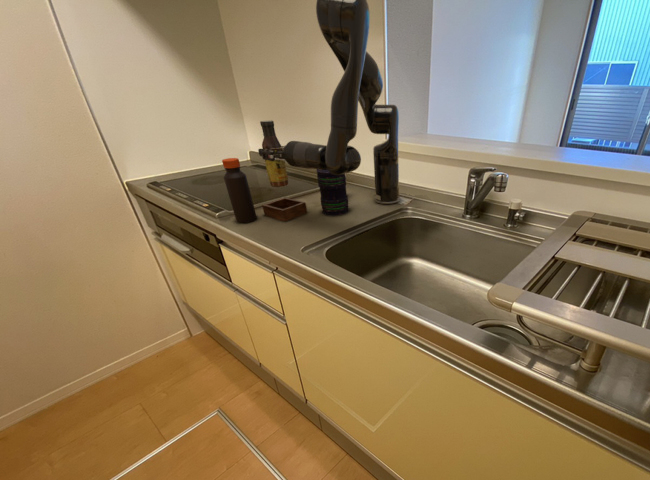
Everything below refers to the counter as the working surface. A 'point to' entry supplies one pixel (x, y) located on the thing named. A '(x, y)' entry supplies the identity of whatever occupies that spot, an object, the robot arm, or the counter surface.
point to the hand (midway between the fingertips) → (268, 150)
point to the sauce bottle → (276, 167)
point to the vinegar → (238, 191)
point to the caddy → (284, 209)
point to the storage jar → (332, 193)
